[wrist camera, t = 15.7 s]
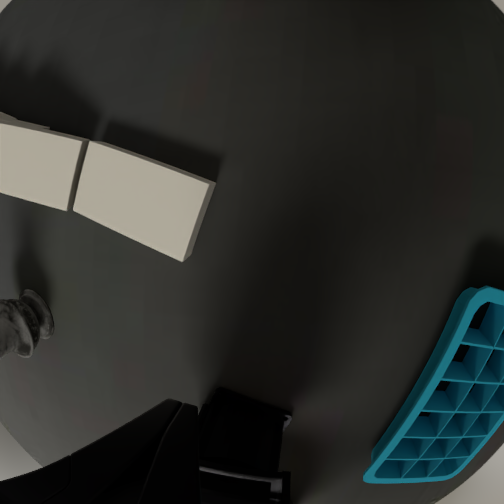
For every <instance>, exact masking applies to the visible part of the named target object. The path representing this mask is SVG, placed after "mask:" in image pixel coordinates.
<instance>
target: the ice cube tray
mask: <svg viewBox="0 0 504 504" xmlns="http://www.w3.org/2000/svg"><path fill="white" fill-rule="evenodd" d="M486 302H490V305H489V307H488V309H487V312H486V314H485V316H484V318H483V321H482V323H481V325H480V327H479V329H473V328H468V326H469V324H470V322H471V320H472V318H473V315H474V314H475V312H476V311H477V310H478V308H479V307H480V306H481V305H483V304H484V303H486ZM503 329H504V291H503V290H500V289H497V288H493V287H490V286H487V285H486V286H484V287H482V288H479V289H476V288H473V287H470V288H468V289H466V290H464V291H463V292H462V293H461V294H460V296H459V297H458V298H457V300H456V302H455V305H454V307H453V309H452V312H451V314H450V316H449V319H448V321H447V323H446V325H445V328H444V330H443V332H442V334H441V336H440V338H439V340H438V342H437V345H436V347H435V349H434V351H433V353H432V355H431V356H430V358H429V360H428V362H427V364H426V366H425V368H424V370H423V372H422V373H421V375H420V377H419V379H418V381H417V382H416V384H415V386H414V387H413V389H412V391H411V393H410V394H409V396H408V398H407V399H406V401H405V403H404V404H403V406H402V407H401V409H400V410H399V412H398V414H397V415H396V417H395V418H394V420H393V421H392V423H391V424H390V426H389V427H388V429H387V430H386V432H385V433H384V434H383V436H382V437H381V439H380V440H379V442H378V443H377V444H376V446H375V447H374V448H373V451H372V454H371V460H372V463H371V464H370V466H369V467H368V468H367V469H366V471H365V472H364V473H363V481H365V482H367V483H416V482H431V481H442V480H447V479H449V478H452V477H454V476H455V475H456V474H458V473H459V472H460V471H461V470H462V469H463V468H464V467H465V466H466V465H467V464H468V463H469V462H470V461H471V459H472V458H473V457H474V456H475V455H476V454H477V453H478V452H479V450H480V449H481V448H482V447H483V446H484V444H485V443H486V442H487V441H488V440H489V438H490V437H491V436H492V435H493V433H494V432H495V431H496V430H497V428H498V427H499V426H500V424H501V423H502V422H503V420H504V333H503V334H501V333H502V331H503ZM460 344H465V345H471V346H470V348H469V350H468V352H467V353H466V355H465V357H464V359H463V361H462V362H457V361H452V359H453V357H454V355H455V353H456V351H457V349H458V347H459V345H460ZM493 349H495V351H494V353H493V355H492V357H491V358H490V360H489V362H488V364H487V365H485V364H486V362H487V360H488V359H489V357H490V355H491V353H492V351H493ZM440 380H443V381H451V382H450V384H449V385H448V387H447V389H446V390H445V391H436V390H435V389H436V387H437V385H438V384H439V382H440ZM474 383H476V384H475V386H474V388H473V389H472V391H471V392H470V393H469V391H470V389H471V388H472V386H473V385H474ZM421 411H422V412H431V413H430V415H429V416H428V417H426V416H418V415H419V414H420V412H421ZM455 413H456V415H455V416H454V417H452V416H453V415H454V414H455ZM408 438H413V439H408ZM436 438H438V439H436Z"/></svg>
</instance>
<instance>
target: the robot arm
mask: <svg viewBox="0 0 504 504" xmlns="http://www.w3.org/2000/svg"><path fill="white" fill-rule="evenodd" d="M219 393H221V394H223V395H221V394H219ZM291 420H292V414H291V413H290V412H288V411H285V410H282V409H279V408H276V407H273V406H270V405H267V404H264V403H261V402H258V401H256V400H253V399H250V398H247V397H245V396H242V395H239V394H237V393H234V392H231V391H229V390H226V389H224V388H217V389H216V390H215V393H214V395H213V397H212V399H211V402H210V404H209V405H208V404H204V405H202V408H201V410H200V412H199V415H198V407H197V406H195V405H191V404H187V403H183V404H182V402H180V401H176V400H173V399H166V400H164V401H163V402H161V403H160V404H158V405H156V406H155V407H153V408H151V409H150V410H148V411H147V412H145V413H143V414H142V415H140V416H138V417H137V418H135V419H133V420H131V421H130V422H128V423H126V424H125V425H123V426H121V427H119V428H118V429H116V430H114V431H112V432H111V433H109V434H107V435H105V436H104V437H102V438H100V439H98V440H96V441H95V442H93V443H91V444H89V445H87V446H85V447H84V448H82V449H80V450H78V451H76V452H74V453H72V454H71V456H70V455H68V456H66V457H64V458H62V459H60V460H58V461H56V462H54V463H52V464H50V465H47V466H45V467H43V468H40V469H38V470H35V471H32V472H29V473H26V474H24V475H20V476H17V477H14V478H10V479H7V480H3V481H0V504H290V475H291V472H288V471H283V472H278V467H279V459H280V451H281V443H282V434H283V431H284V430H285V428H286V427H287V426H288V424H289V423H290V422H291Z"/></svg>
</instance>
